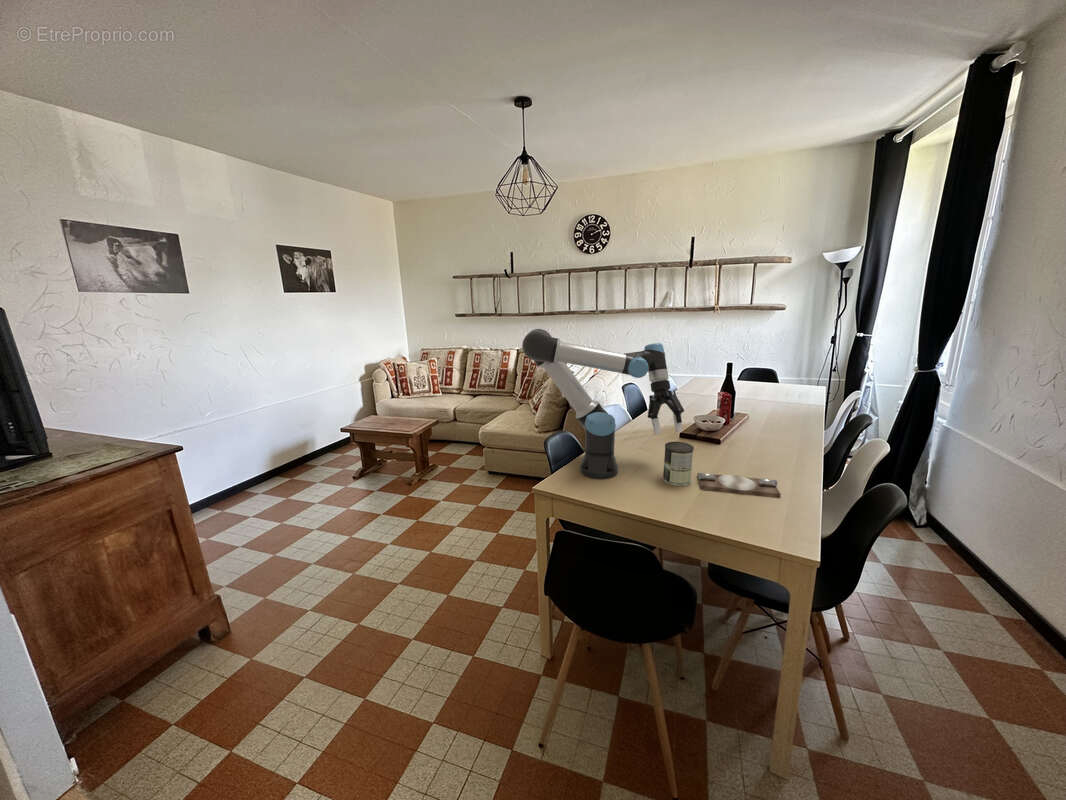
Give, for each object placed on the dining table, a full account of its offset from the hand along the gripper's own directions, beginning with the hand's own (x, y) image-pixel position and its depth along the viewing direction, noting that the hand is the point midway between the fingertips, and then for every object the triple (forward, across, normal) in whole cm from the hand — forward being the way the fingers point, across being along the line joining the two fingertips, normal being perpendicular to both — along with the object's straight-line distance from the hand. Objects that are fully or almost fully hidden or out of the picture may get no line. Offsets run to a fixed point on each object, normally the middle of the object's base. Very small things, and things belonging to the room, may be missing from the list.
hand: (668, 433), depth 165 cm
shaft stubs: (+21, -16, -14) cm, 30 cm away
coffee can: (+19, -4, +3) cm, 19 cm away
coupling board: (+23, -16, -14) cm, 31 cm away
